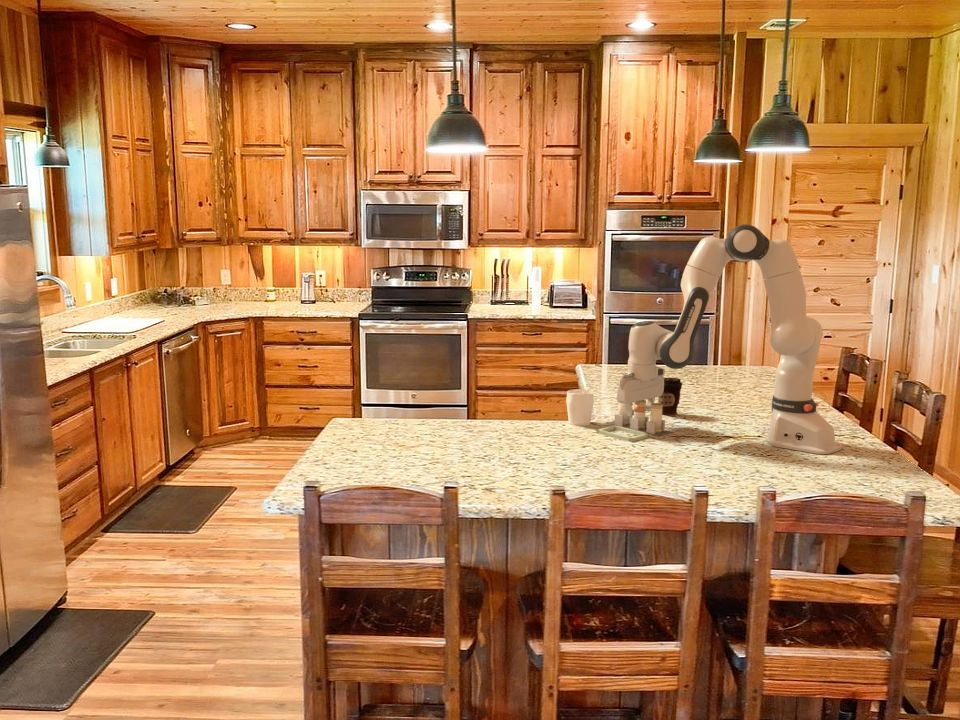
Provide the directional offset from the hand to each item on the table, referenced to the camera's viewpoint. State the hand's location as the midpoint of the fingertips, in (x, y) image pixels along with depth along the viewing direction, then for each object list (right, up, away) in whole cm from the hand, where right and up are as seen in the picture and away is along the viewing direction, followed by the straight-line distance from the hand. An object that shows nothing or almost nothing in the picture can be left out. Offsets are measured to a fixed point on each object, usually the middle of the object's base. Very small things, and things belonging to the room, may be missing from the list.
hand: (639, 413), depth 279 cm
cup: (-19, -5, +7) cm, 21 cm away
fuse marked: (0, -5, +1) cm, 5 cm away
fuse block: (0, -6, +1) cm, 6 cm away
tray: (-7, -8, -8) cm, 13 cm away
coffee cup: (+15, -2, +25) cm, 29 cm away
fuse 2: (+4, -6, -4) cm, 8 cm away
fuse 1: (-4, -4, +5) cm, 8 cm away
